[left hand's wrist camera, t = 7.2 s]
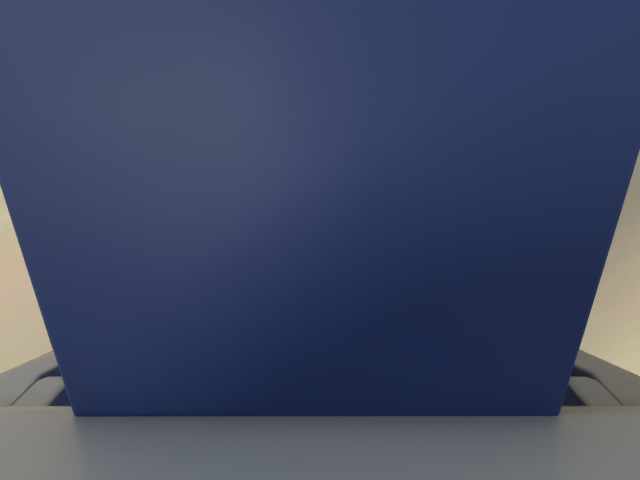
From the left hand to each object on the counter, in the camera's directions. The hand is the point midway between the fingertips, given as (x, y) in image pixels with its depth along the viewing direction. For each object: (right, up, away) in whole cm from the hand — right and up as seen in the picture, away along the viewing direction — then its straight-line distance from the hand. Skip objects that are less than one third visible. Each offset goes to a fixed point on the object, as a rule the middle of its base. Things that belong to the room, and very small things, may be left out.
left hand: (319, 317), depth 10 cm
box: (0, +9, +3) cm, 9 cm away
